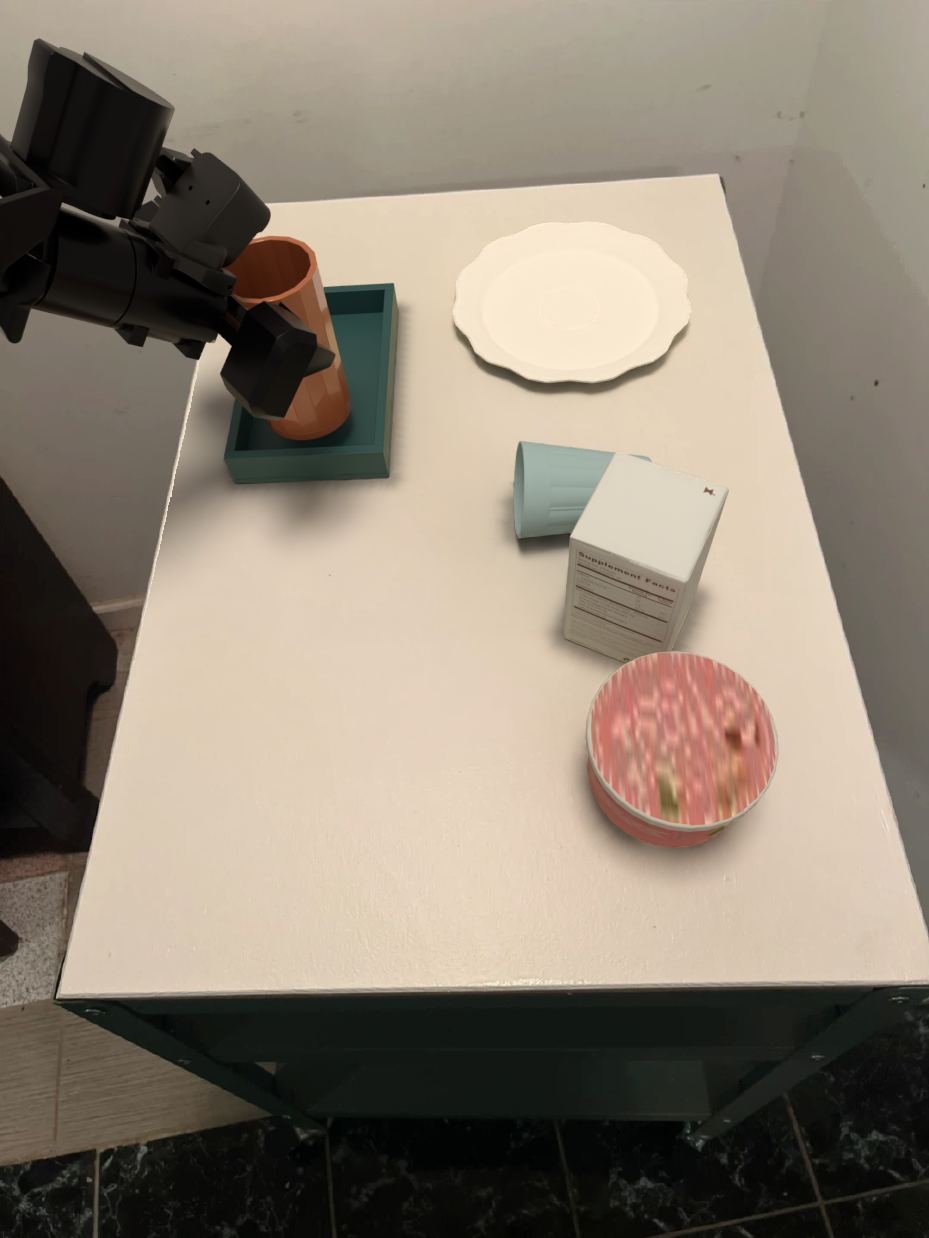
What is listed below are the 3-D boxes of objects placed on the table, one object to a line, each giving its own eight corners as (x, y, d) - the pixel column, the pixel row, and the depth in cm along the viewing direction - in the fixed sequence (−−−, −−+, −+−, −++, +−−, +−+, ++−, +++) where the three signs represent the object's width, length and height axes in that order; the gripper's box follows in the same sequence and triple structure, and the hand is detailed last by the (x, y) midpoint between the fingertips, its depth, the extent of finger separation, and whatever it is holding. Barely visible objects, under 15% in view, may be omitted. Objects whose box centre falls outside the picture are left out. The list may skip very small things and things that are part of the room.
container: (581, 862, 51) (590, 825, 44) (575, 704, 56) (583, 649, 49) (756, 865, 50) (793, 829, 43) (734, 705, 55) (765, 650, 48)
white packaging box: (600, 560, 61) (616, 445, 50) (696, 597, 59) (735, 485, 48) (558, 639, 58) (565, 535, 47) (658, 681, 56) (689, 582, 45)
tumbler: (316, 453, 64) (272, 315, 53) (248, 421, 67) (192, 282, 56) (368, 395, 67) (336, 254, 56) (301, 367, 70) (258, 225, 58)
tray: (388, 477, 67) (383, 452, 64) (235, 484, 67) (223, 459, 65) (398, 311, 76) (393, 282, 74) (264, 318, 77) (254, 290, 74)
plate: (735, 339, 72) (739, 324, 70) (522, 429, 68) (522, 415, 67) (609, 210, 81) (610, 195, 80) (417, 284, 78) (415, 268, 76)
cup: (629, 492, 66) (510, 491, 66) (648, 422, 60) (519, 420, 60) (643, 557, 62) (517, 556, 61) (665, 488, 56) (526, 487, 56)
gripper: (245, 215, 42) (434, 294, 54) (79, 78, 50) (278, 175, 62) (168, 406, 46) (359, 438, 59) (27, 253, 54) (223, 311, 67)
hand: (303, 334), depth 62 cm, fingers closed on tumbler, 7 cm apart
